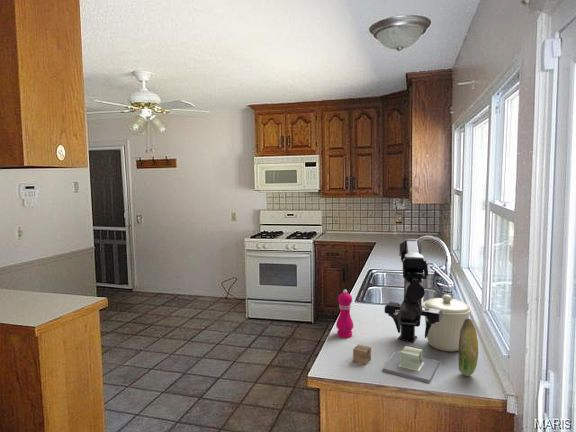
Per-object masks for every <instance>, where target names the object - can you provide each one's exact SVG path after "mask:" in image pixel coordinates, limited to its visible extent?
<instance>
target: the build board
mask: <svg viewBox="0 0 576 432" xmlns="http://www.w3.org/2000/svg"><path fill="white" fill-rule="evenodd" d="M440 362H441V361H440V360H436V359H432V358H428V357H423V356H422V364H421V366H420V367H419V369H418V370H416V369H412V368H408V367H404V366H401V352H400V351H395V352H394V353H393V354H392V355H391V357H390V358H389V359H388V360H387V362H386V363H385V364H384V365H383V366H382V367H381V372H385V373H387V374H388V373H389V374H392V375H397V376H400V377H404V378H409V379H412V380H417V381H421V382H424V383H428V382H429V383H428V384H430V383H431V381H432V380H433V377H434V375H435V373H436V371H437V369H439V368H438V367H439V366H440Z"/></svg>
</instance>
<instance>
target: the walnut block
mask: <svg viewBox="0 0 576 432" xmlns="http://www.w3.org/2000/svg"><path fill="white" fill-rule="evenodd" d="M371 355H372V347H371V346H368V345H365V344H364V345H363V344H359V343H358V344H357V345H356V346H354V348H353V349H352V362H353V363H354V364H355V363H357V364H360V365H363V366H367V365H368V363H369V362H370V361H371V359H372V357H371Z"/></svg>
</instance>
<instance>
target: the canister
mask: <svg viewBox="0 0 576 432" xmlns="http://www.w3.org/2000/svg"><path fill="white" fill-rule="evenodd" d="M422 308H424V310H425V311H429V309H430V308H432V309H439V310H441V311H442V318H441V320H440V321H439V322H436V323H435V324H432V325H431V328H430V330H429V332H428V335H427V337H426V339H427V341H428V343H429V345H430V346H431V347H433V348H434V349H436V350H439V351H444V352H458V349H459V338H460V330H461V327H462V325H463V323H464V320H465V319H466V318H469V319H470V314H471V312H472V311H473V310H472V307H471V306H470V305H468V304H467V303H466V302H464V301H461V300H459V299H454V298H453V297H452V295H450V294H443V295H442V297H434V298H429V299H427V300H425V301H424V302H423V303H422ZM424 317H425V318H424V319H425V320H424V321H425V323H426V320H427V316H424Z"/></svg>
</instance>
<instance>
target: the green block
mask: <svg viewBox="0 0 576 432" xmlns="http://www.w3.org/2000/svg"><path fill="white" fill-rule="evenodd" d="M422 357H423V349H421V348H416V347H412V346H407V345H405V346H404V347H403V348H402V350H401V366H404V367H408V368H412V369H416V370H418V369H419V367H420V366H421V364H422Z"/></svg>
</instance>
